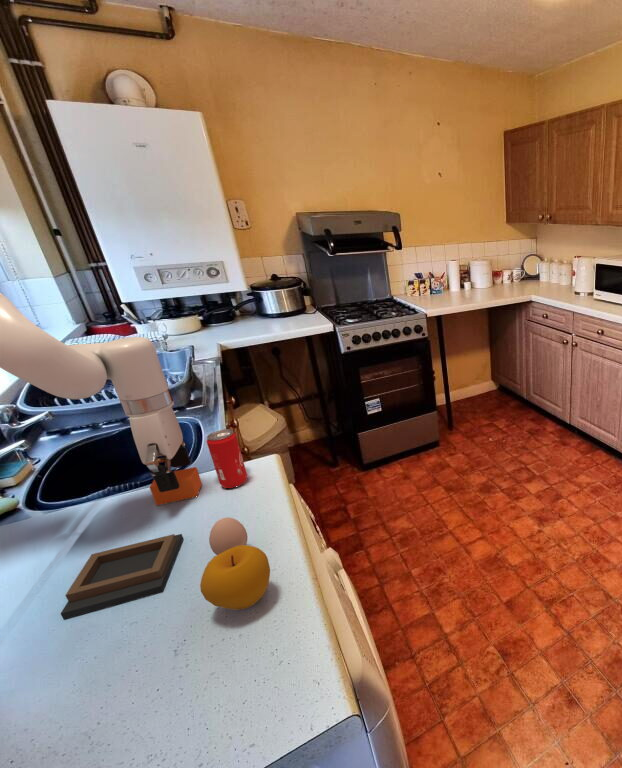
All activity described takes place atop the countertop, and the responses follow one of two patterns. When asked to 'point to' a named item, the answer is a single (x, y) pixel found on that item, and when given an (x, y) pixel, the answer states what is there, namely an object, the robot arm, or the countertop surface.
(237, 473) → the beverage can
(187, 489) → the orange block
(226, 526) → the egg
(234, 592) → the apple
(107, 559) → the brown wooden tray
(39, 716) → the countertop surface
